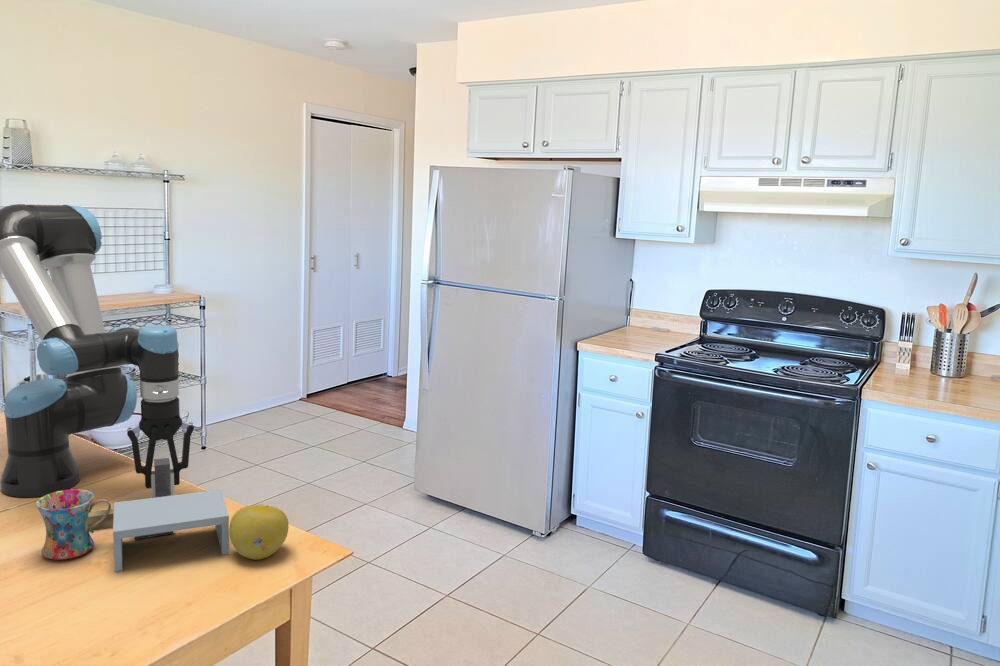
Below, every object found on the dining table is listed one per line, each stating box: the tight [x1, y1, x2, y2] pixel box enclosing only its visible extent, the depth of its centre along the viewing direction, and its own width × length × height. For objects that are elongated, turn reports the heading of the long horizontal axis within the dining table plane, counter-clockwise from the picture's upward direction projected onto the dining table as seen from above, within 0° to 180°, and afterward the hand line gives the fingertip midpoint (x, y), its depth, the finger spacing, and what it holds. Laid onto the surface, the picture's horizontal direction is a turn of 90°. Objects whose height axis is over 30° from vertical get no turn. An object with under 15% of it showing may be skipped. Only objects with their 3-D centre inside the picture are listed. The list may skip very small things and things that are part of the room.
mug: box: [35, 488, 112, 561], centre depth 136 cm, size 12×9×11 cm
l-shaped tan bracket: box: [88, 508, 114, 531], centre depth 145 cm, size 10×3×7 cm, turn 117°
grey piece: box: [134, 457, 175, 540], centre depth 152 cm, size 19×7×9 cm, turn 27°
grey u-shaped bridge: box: [112, 489, 230, 573], centre depth 139 cm, size 13×19×8 cm
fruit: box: [229, 503, 289, 561], centre depth 139 cm, size 10×11×10 cm
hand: (163, 499), depth 160 cm, fingers closed on grey piece, 3 cm apart
